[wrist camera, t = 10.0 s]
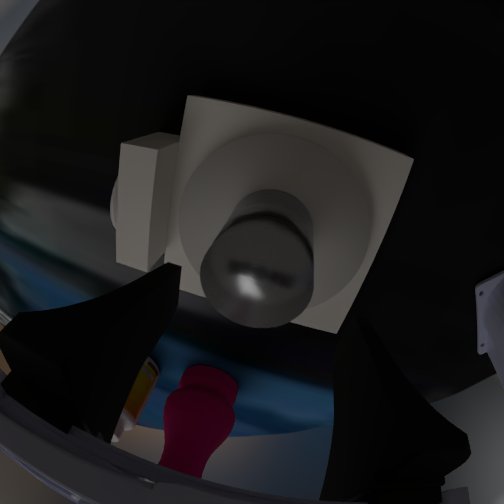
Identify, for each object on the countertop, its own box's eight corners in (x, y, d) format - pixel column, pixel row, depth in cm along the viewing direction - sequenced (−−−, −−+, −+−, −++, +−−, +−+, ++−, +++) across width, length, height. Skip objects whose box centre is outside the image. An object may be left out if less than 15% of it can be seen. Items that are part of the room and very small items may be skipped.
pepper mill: (171, 381, 33) (105, 530, 15) (193, 350, 29) (115, 534, 12) (225, 408, 33) (179, 557, 16) (255, 382, 30) (209, 565, 13)
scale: (404, 153, 18) (433, 171, 13) (335, 317, 24) (337, 365, 20) (160, 90, 18) (118, 90, 14) (142, 260, 25) (110, 296, 20)
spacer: (323, 252, 19) (327, 315, 13) (249, 273, 20) (228, 335, 15) (296, 177, 17) (290, 214, 12) (217, 205, 18) (180, 251, 13)
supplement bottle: (118, 338, 31) (72, 406, 22) (163, 358, 31) (124, 434, 22) (119, 366, 34) (81, 429, 25) (159, 384, 34) (127, 452, 25)
